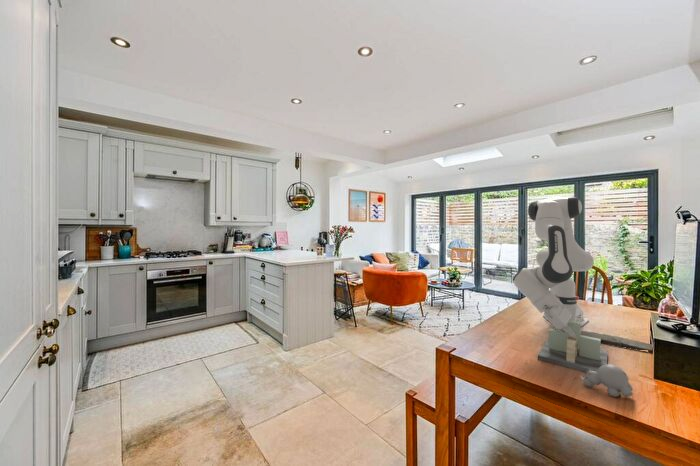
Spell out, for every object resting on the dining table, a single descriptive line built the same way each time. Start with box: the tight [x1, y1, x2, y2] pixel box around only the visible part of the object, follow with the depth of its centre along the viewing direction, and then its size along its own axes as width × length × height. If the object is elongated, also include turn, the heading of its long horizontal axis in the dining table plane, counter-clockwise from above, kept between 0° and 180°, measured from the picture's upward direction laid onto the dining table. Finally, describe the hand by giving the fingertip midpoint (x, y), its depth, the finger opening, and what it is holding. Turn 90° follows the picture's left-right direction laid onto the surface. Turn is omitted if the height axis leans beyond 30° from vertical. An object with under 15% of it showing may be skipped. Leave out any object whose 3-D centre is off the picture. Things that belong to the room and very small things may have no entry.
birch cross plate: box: [537, 335, 609, 373], centre depth 115 cm, size 24×20×9 cm
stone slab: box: [563, 330, 653, 352], centre depth 132 cm, size 10×3×30 cm
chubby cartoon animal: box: [580, 363, 634, 398], centre depth 92 cm, size 7×12×8 cm, turn 42°
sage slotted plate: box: [548, 320, 602, 361], centre depth 115 cm, size 16×2×12 cm, turn 48°
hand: (575, 332), depth 115 cm, fingers open, 8 cm apart
